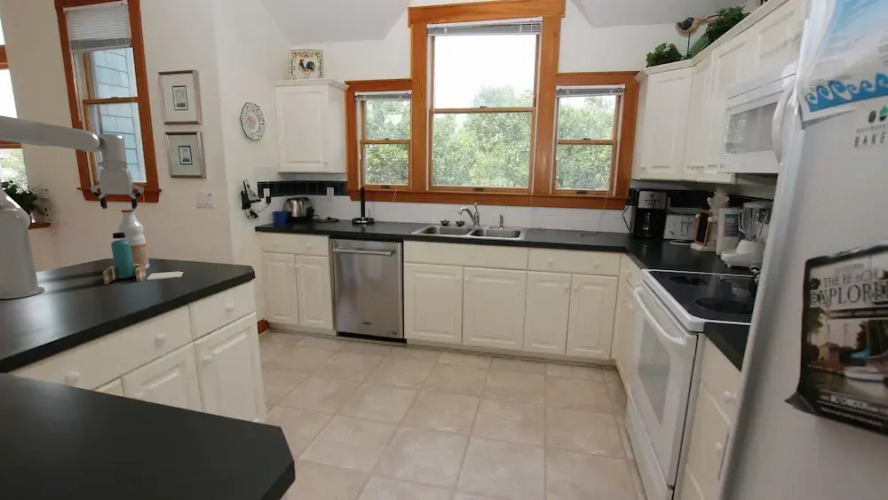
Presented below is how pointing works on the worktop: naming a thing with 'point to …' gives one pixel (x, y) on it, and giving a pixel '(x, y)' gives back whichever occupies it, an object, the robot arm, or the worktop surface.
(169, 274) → the trivet
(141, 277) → the bottle bracket
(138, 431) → the worktop surface
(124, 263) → the beverage bottle
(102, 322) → the worktop surface
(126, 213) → the fruit juice
